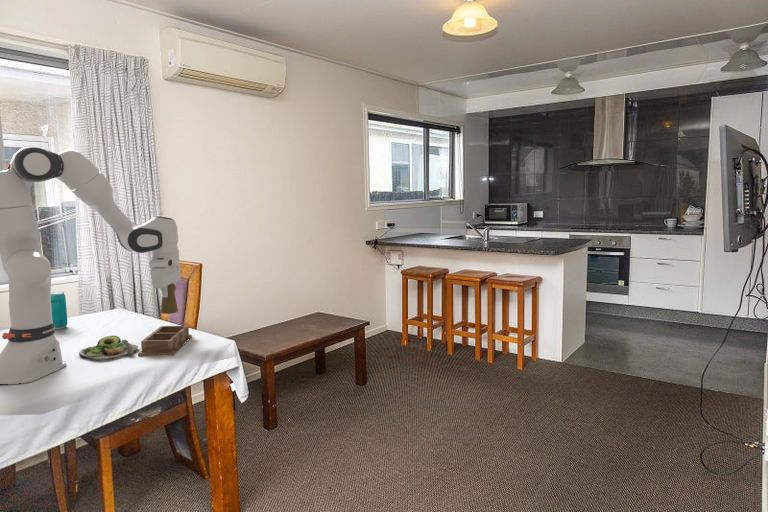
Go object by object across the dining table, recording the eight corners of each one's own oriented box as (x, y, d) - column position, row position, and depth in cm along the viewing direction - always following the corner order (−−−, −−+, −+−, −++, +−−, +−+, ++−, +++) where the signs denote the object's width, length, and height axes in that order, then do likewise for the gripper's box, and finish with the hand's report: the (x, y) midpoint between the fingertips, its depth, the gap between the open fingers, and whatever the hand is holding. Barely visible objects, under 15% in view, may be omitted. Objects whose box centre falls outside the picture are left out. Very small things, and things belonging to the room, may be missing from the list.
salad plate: (152, 351, 181) (152, 339, 180) (104, 366, 166) (103, 353, 165) (120, 342, 190) (119, 331, 190) (72, 356, 175) (71, 343, 174)
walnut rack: (173, 355, 176) (172, 341, 175) (138, 356, 175) (137, 342, 174) (192, 336, 197) (191, 324, 197) (160, 337, 196) (160, 325, 196)
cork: (172, 314, 185) (170, 285, 184) (157, 313, 186) (155, 284, 185) (181, 310, 191) (179, 282, 190) (166, 309, 192) (165, 281, 191)
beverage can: (52, 326, 210) (50, 292, 208) (68, 325, 212) (66, 291, 210) (50, 330, 205) (47, 294, 203) (66, 328, 207) (63, 293, 205)
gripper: (167, 255, 196) (169, 290, 198) (147, 263, 176) (149, 301, 178) (184, 255, 197) (185, 289, 199) (165, 263, 176) (167, 301, 178)
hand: (168, 295), depth 188 cm, fingers closed on cork, 4 cm apart
